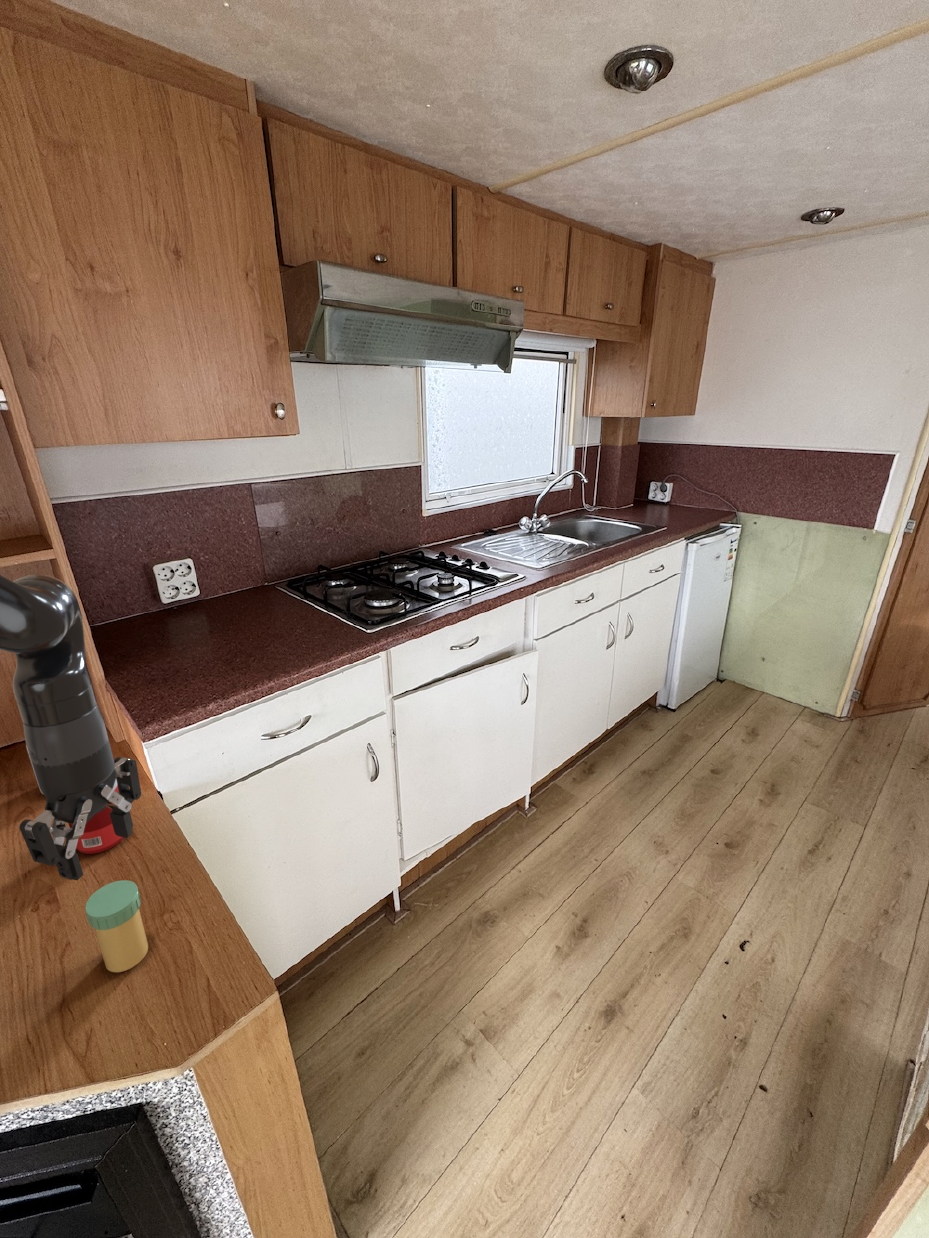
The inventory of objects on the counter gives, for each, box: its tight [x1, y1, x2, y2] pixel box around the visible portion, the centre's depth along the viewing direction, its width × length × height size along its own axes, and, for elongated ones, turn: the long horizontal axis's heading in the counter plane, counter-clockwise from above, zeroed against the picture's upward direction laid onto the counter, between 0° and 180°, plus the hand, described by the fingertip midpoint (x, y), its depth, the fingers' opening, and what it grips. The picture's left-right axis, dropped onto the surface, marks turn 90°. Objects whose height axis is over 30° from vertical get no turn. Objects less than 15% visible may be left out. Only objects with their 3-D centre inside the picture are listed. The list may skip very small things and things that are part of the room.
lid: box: [84, 879, 142, 930], centre depth 72 cm, size 6×6×2 cm
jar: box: [94, 908, 149, 973], centre depth 73 cm, size 5×5×10 cm
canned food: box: [67, 779, 125, 855], centre depth 94 cm, size 8×8×11 cm
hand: (100, 854), depth 69 cm, fingers open, 7 cm apart
